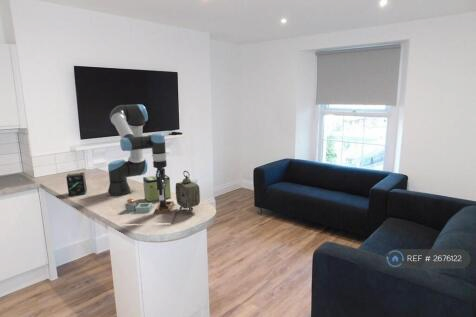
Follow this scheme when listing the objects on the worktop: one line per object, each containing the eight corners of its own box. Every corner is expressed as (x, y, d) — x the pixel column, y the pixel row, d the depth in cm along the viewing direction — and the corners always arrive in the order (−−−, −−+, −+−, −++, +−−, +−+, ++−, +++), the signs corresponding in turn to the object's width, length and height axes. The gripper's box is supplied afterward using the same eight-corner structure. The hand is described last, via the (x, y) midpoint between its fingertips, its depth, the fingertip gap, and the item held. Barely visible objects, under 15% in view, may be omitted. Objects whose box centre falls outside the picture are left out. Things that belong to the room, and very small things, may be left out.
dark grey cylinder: (160, 205, 191) (158, 179, 188) (167, 205, 191) (165, 179, 188) (158, 207, 187) (156, 181, 184) (165, 207, 187) (163, 181, 184)
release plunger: (128, 206, 194) (128, 199, 193) (135, 206, 194) (134, 199, 193) (126, 209, 190) (126, 201, 189) (133, 209, 190) (132, 201, 189)
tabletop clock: (176, 209, 195) (174, 169, 190) (189, 205, 200) (187, 167, 195) (188, 216, 184) (185, 174, 179) (201, 212, 189) (199, 171, 184)
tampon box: (87, 190, 237) (84, 171, 234) (85, 194, 228) (83, 174, 225) (70, 192, 233) (68, 173, 230) (68, 196, 225) (65, 176, 222)
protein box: (171, 199, 213) (169, 177, 210) (148, 203, 206) (146, 180, 203) (166, 195, 222) (165, 173, 219) (144, 199, 215) (142, 177, 212)
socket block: (130, 208, 198) (129, 200, 197) (154, 207, 199) (153, 200, 198) (123, 215, 187) (123, 207, 186) (149, 214, 187) (149, 206, 186)
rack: (159, 205, 202) (159, 201, 201) (175, 205, 202) (175, 200, 201) (153, 215, 186) (153, 210, 185) (170, 214, 186) (170, 210, 185)
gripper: (156, 157, 192) (159, 194, 196) (149, 163, 175) (152, 203, 180) (168, 157, 192) (171, 194, 196) (163, 163, 175) (165, 203, 180)
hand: (162, 198), depth 188 cm, fingers closed on dark grey cylinder, 4 cm apart
